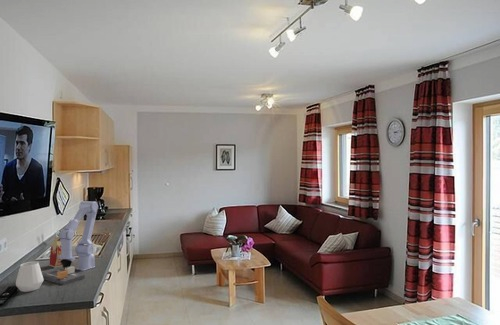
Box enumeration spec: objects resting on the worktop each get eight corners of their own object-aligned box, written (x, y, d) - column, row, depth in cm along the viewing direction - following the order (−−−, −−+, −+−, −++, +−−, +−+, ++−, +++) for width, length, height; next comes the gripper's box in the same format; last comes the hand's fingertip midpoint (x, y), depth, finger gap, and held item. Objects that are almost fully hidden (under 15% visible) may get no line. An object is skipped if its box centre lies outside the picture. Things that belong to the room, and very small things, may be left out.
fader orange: (64, 275, 216) (64, 269, 216) (67, 276, 214) (67, 270, 214) (57, 277, 212) (57, 271, 212) (60, 278, 210) (60, 272, 210)
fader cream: (71, 271, 224) (71, 265, 224) (74, 272, 222) (74, 266, 222) (64, 273, 220) (64, 267, 220) (67, 274, 218) (67, 268, 218)
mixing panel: (58, 271, 232) (58, 268, 232) (84, 278, 219) (84, 274, 219) (38, 277, 220) (38, 273, 220) (63, 284, 207) (63, 281, 207)
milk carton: (69, 264, 246) (68, 235, 246) (55, 268, 239) (55, 237, 238) (61, 262, 252) (61, 233, 251) (48, 265, 244) (47, 236, 243)
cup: (13, 288, 202) (12, 263, 202) (40, 282, 211) (39, 258, 211) (18, 295, 192) (18, 269, 192) (46, 288, 202) (46, 263, 201)
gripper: (53, 249, 222) (53, 271, 223) (67, 252, 215) (67, 275, 215) (64, 246, 228) (64, 268, 229) (78, 249, 221) (78, 271, 221)
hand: (66, 271), depth 222 cm, fingers closed
